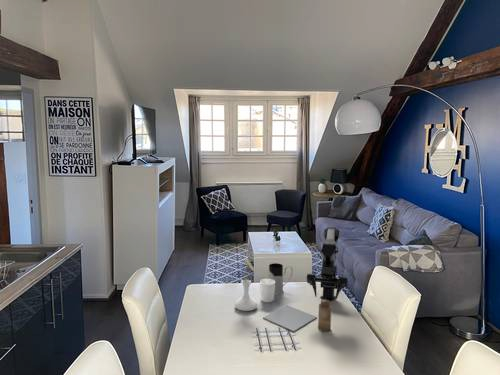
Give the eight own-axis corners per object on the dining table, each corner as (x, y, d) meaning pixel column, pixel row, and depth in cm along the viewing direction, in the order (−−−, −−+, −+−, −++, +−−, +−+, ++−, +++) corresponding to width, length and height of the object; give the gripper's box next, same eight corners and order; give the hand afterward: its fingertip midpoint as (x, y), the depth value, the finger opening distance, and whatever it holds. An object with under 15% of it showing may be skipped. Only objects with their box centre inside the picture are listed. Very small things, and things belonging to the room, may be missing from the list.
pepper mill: (322, 324, 175) (323, 297, 173) (332, 328, 172) (333, 301, 170) (315, 328, 171) (316, 301, 169) (326, 333, 168) (327, 305, 166)
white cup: (275, 296, 204) (275, 278, 203) (274, 303, 197) (275, 284, 195) (260, 296, 205) (260, 278, 204) (259, 302, 197) (259, 284, 196)
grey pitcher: (265, 289, 214) (265, 263, 211) (288, 286, 218) (289, 261, 216) (270, 295, 205) (271, 269, 203) (295, 292, 210) (295, 266, 207)
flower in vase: (257, 313, 186) (257, 263, 182) (234, 313, 186) (233, 263, 182) (257, 301, 199) (257, 255, 195) (235, 301, 199) (235, 254, 195)
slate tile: (286, 306, 193) (286, 305, 193) (316, 318, 181) (316, 316, 181) (263, 318, 181) (263, 317, 180) (293, 332, 168) (293, 331, 168)
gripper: (307, 257, 180) (304, 288, 171) (348, 260, 176) (347, 293, 166) (308, 267, 189) (305, 298, 180) (347, 271, 184) (346, 302, 175)
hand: (325, 297), depth 175 cm, fingers open, 9 cm apart
